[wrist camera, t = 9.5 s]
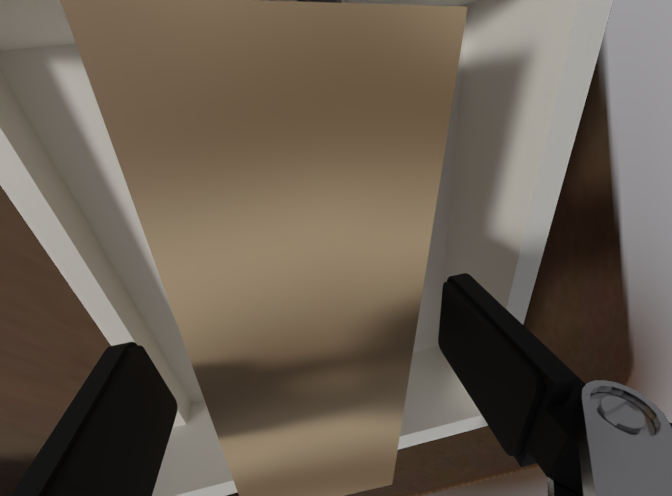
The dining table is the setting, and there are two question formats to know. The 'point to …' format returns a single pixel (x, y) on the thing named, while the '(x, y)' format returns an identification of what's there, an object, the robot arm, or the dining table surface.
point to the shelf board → (284, 210)
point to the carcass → (449, 221)
